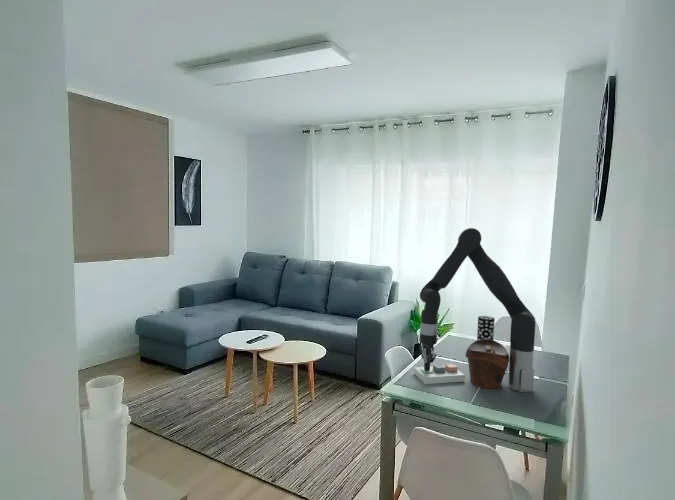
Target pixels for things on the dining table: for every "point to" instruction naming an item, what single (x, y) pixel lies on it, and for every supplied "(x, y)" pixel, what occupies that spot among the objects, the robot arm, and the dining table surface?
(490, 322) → the white-spotted black cylinder
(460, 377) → the keypad board
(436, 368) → the key charcoal
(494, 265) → the robot arm
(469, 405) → the dining table surface
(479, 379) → the brown wooden rounded tub
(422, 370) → the key sage
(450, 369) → the key terracotta
